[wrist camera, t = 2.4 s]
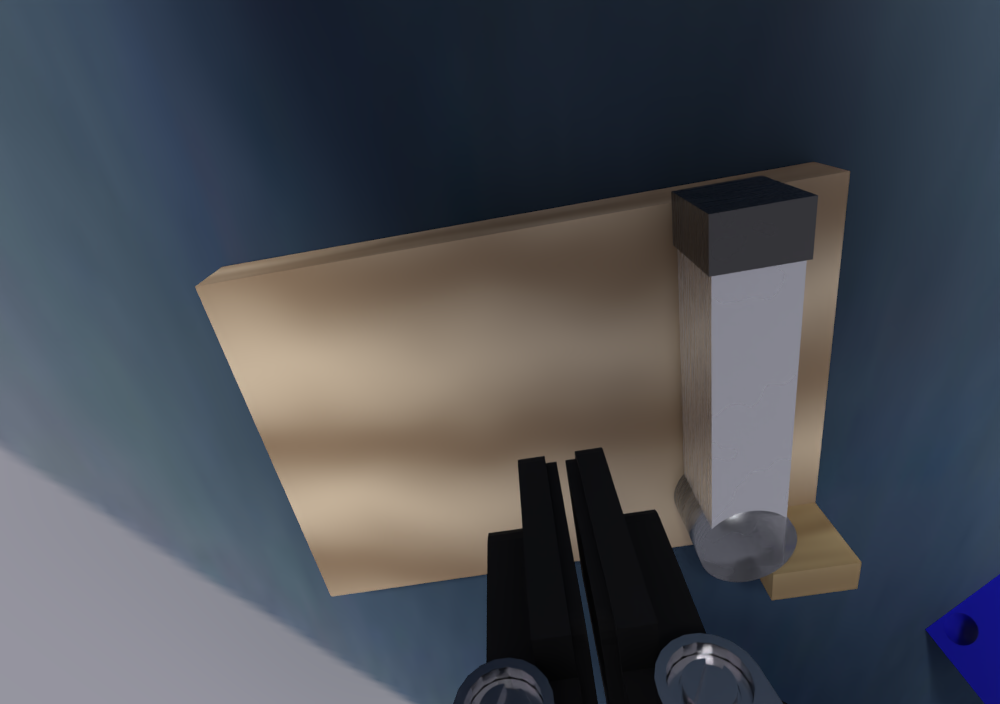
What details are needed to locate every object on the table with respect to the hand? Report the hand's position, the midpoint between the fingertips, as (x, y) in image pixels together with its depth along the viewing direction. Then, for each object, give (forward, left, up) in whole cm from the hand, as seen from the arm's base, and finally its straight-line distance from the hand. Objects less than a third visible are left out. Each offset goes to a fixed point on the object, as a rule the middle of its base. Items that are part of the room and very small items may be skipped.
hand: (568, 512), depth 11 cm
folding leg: (+2, +6, -8) cm, 10 cm away
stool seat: (+3, 0, -10) cm, 11 cm away
